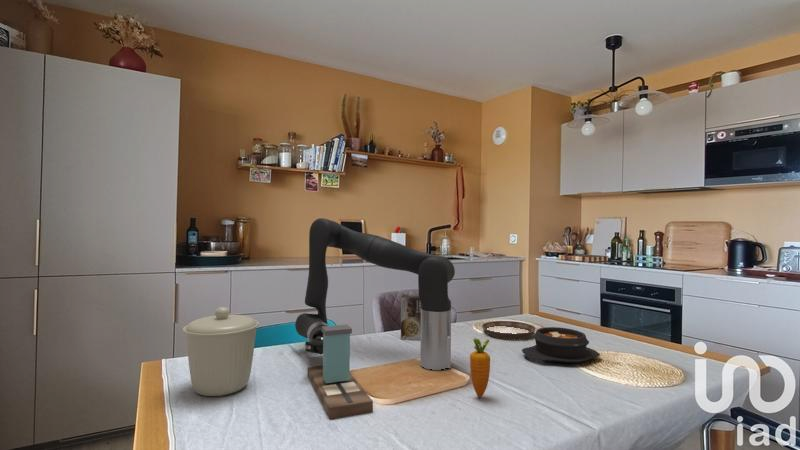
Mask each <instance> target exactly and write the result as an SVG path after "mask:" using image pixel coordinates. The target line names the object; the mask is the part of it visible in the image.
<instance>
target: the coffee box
mask: <svg viewBox="0 0 800 450" xmlns="http://www.w3.org/2000/svg"><path fill="white" fill-rule="evenodd" d="M400 340H403V341H404V340H406V341H407V340H408V341H409V340H410V341H411V340H412V341H421V303H420V300H419V294H405V293H404V294H402V295H401V296H400Z"/></svg>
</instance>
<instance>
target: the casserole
mask: <svg viewBox="0 0 800 450" xmlns="http://www.w3.org/2000/svg"><path fill="white" fill-rule="evenodd" d="M532 337H533V339H534V340H535V345H533V346H527V347H524V348H522V349H521V352H522V354H524V355H526V356H527V357H530V358H532V359H534V360H537V361H539V360H540V361H549V362H552V363H553V362H554V363H559V364H575V363H580V362H581V363H582V362H586V361H588V360H589V361H590V360H591V359H593V358H594V359H595V358H598V357H600V356H601V354H600V352H598V351H597V350H595V349H593V348H590V347H587V346H589V344H590V341H589V340H588V338H587V335H586V334H585V333H584V332H582V331H579V330H575V329H572V328H566V327H555V326H551V327H541V328H536V330H535V334H533V336H532Z"/></svg>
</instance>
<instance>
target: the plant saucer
mask: <svg viewBox="0 0 800 450" xmlns="http://www.w3.org/2000/svg"><path fill="white" fill-rule="evenodd" d="M494 326H506V327H514V328H520V329H525V330H528V331H529V332H528V333H517V334H512V333H500V332H494V331H490V330H487V328H489V327H494ZM481 328H482V330H483V331H484V332H485V334H487V335H488V334H489V335H488V336H491V337H493V338H496V339H502V340H517V341H518V340H525V339H528V338H529V337H531V336H532V335H534V332H536V331H537V328H536V327H535V326H534V325H532V324H529V323H526V322H522V321H521V322H520V321H512V320H496V321H488V322H485V323H482V325H481ZM527 337H528V338H527ZM524 338H525V339H524Z"/></svg>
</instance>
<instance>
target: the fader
mask: <svg viewBox="0 0 800 450" xmlns="http://www.w3.org/2000/svg"><path fill="white" fill-rule="evenodd" d="M321 331H322V333H323V354H322V365H323V379H324V381H325V382H326V383H333V382H340V381H348V380H349V374H350V373H351V371H350V368H351V365H350V362H351V361H350V357H351V356H350V353H351V352H350V348H351V341H350V340H351V335H352V334H353V328H352V327H351V326H350V325H348V324H338V325H337V324H335V325H329V326H323V327H321Z"/></svg>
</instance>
